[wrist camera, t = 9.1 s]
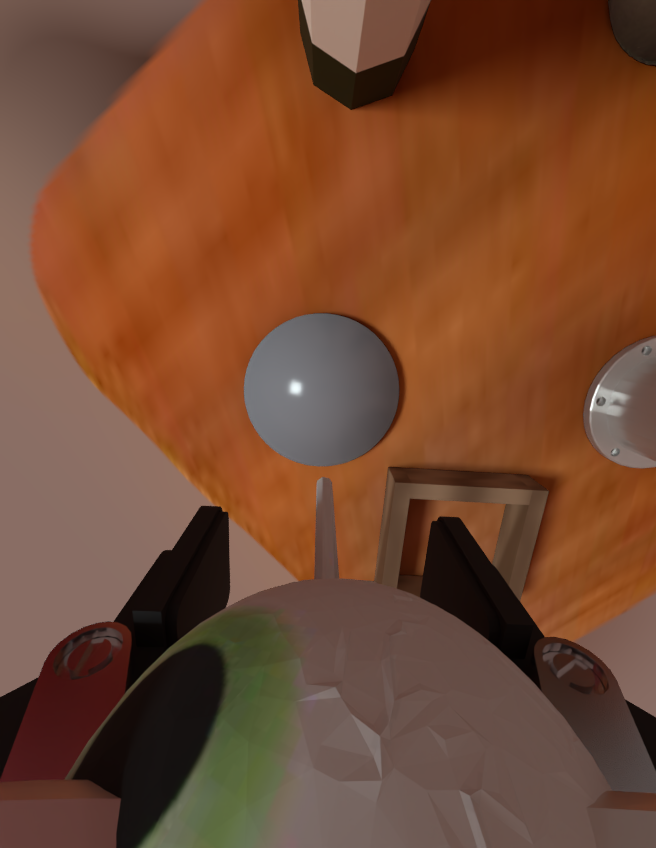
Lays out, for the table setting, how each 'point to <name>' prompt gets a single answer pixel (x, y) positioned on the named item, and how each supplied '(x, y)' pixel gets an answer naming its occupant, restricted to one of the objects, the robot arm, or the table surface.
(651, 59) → the pillar candle
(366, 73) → the wine bottle
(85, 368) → the table surface
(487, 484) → the frame
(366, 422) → the gray round disc
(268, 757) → the eyeball on stick
